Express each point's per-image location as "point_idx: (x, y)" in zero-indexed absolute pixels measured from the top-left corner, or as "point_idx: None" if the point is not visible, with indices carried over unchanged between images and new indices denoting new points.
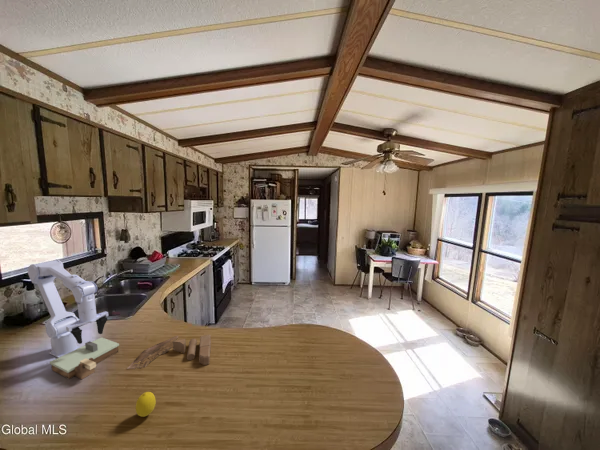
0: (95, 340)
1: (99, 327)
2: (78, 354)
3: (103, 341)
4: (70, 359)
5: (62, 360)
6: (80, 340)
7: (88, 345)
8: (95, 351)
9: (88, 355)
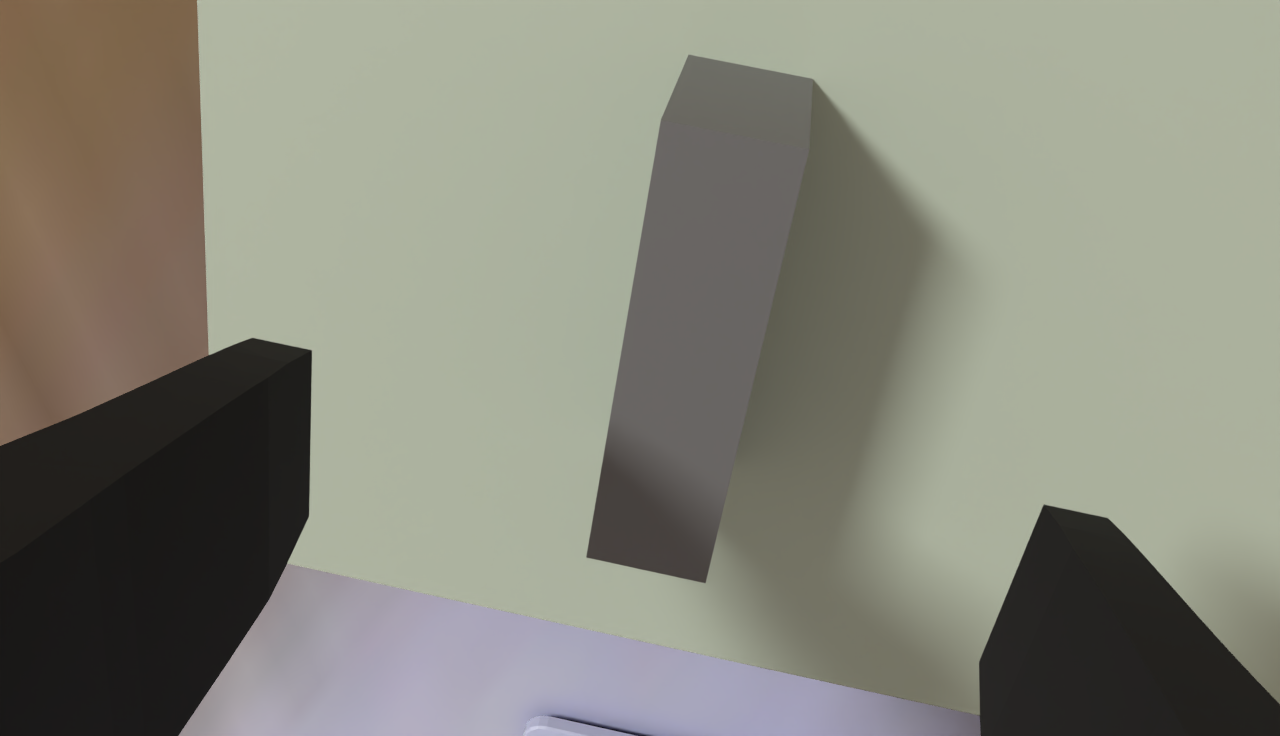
0: (365, 566)
1: (134, 636)
2: (972, 422)
3: (315, 318)
4: (1214, 415)
5: (1258, 572)
6: (1169, 601)
7: (744, 403)
8: (770, 48)
9: (992, 67)
